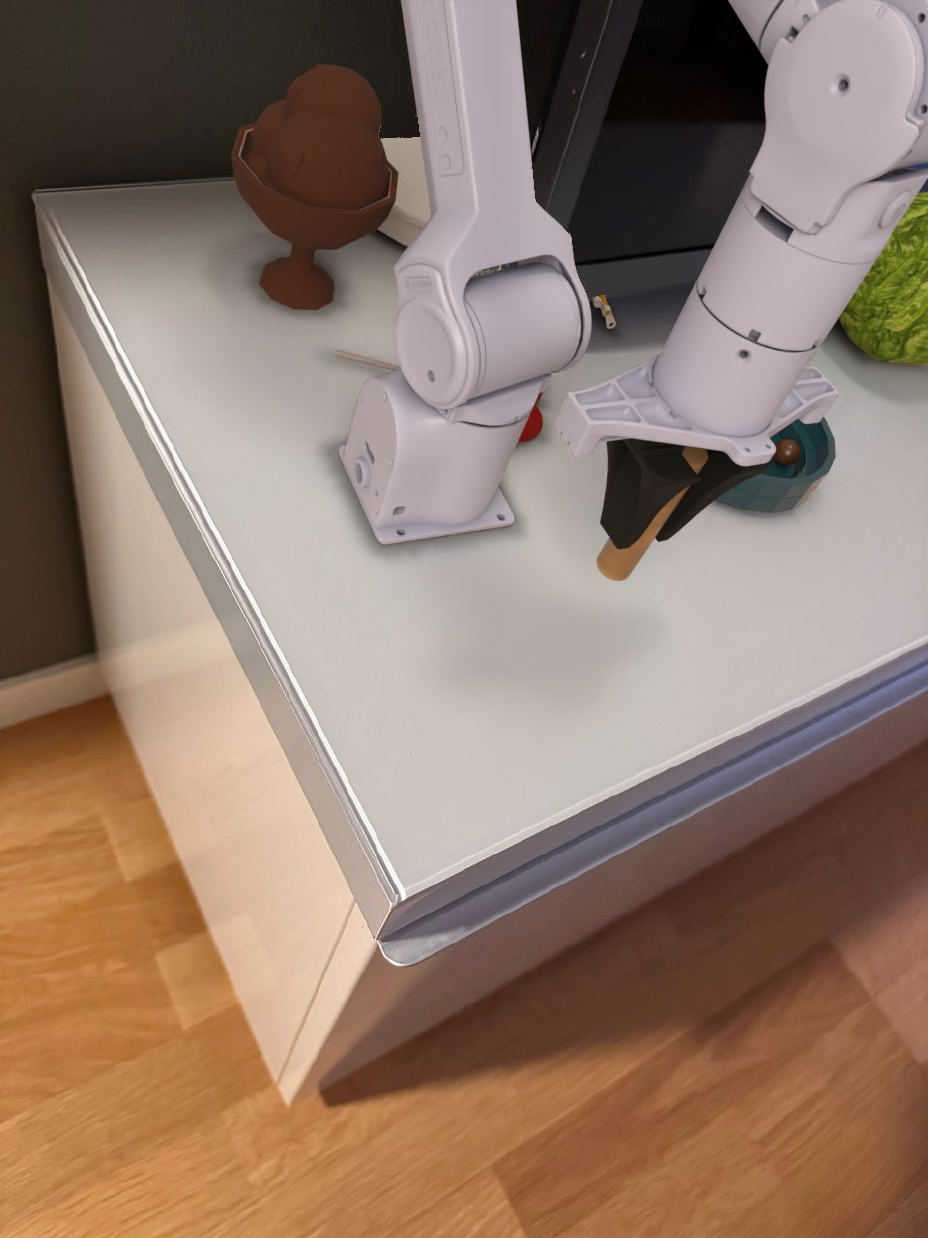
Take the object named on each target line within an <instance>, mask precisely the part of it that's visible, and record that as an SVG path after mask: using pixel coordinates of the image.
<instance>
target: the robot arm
mask: <svg viewBox="0 0 928 1238" xmlns="http://www.w3.org/2000/svg"><path fill="white" fill-rule="evenodd" d="M727 1H728V2H729V5H730V6H731V8H732V9H733V10H734V12H735V14H736V16H737V18H738V19H739V21H740V22H741V23H742V25H743V27H744V29H745V30H746V32H747V33H748V35H749V36H750V38H751V40H752V42H753V43H754V45H755V46H756V48H757V49H758V51H759V53H760V54H761V56H762V58H763V59H764V60H765V62H766V64H767V66H768V67H767V70H766V76H765V83H764V101H763V102H764V112H765V113H764V114H765V131H764V136H763V140H762V143H761V146H760V148H759V151H758V153H756V157H754V160H753V163H752V165H751V166H750V169H749V175H748V177H747V179H746V181H745V183H744V185H743V187H742V189H741V191H740V193H739V195H738V197H737V199H736V201H735V204H734V205H733V208H732V209H731V212H730V213H729V215H728V218H727V220H726V222H725V223H724V225H723V228H722V229H721V231H720V233H719V235H718V238H716V241H715V244H714V246H713V247H712V249H711V251H710V254H709V256H708V258H707V260H706V262H705V264H704V266H703V267H702V269H701V272H700V274H699V276H698V277H697V279H696V281H695V283H694V285H693V287H692V290H691V291H690V292H689V295H688V296H687V299H686V301H685V303H684V306H683V307H682V308H681V311H680V313H679V315H678V317H677V319H676V321H675V323H674V325H673V327H672V329H671V331H670V333H669V335H668V337H667V339H666V341H665V343H664V345H663V347H662V349H661V351H660V353H659V354H657V355H654V356H653V357H651V358H649V359H647V360H645V361H643V362H641V363H639V364H637V365H635V366H633V367H631V368H629V369H626V370H625V371H623V372H620V374H617V375H615V376H613V377H611V378H609V379H608V380H606V381H603V382H602V383H599V384H597V385H594V386H592V387H589V388H585V389H581V390H580V389H579V390H575V391H568V392H567V393H566V396H565V398H564V401H563V403H562V405H561V407H560V410H559V412H558V415H557V417H556V420H555V421H554V424H553V428H554V429H555V430H556V432H557V433H558V435H559V437H560V439H561V441H562V442H563V443H564V445H565V446H566V448H568V450H569V451H570V453H571V454H572V456H573V458H578V457H579V458H581V457H586V456H591V455H593V454H594V453H595V450H596V448H597V446H598V444H599V443H606V451H607V453H606V454H607V474H606V484H605V492H604V500H603V505H602V509H601V515H600V520H599V524H600V525H601V527H602V529H603V530H604V532H605V533H606V534H607V536H608V539H609V538H610V539H611V541H612V542H613V544H614V545H615V547H616V548H617V549H619V550H621V549H626V548H629V547H631V546H632V545H633V544H634V543H635V542H636V541H637V540H638V539H639V538H640V537H641V536H642V535H643V533H644V532H645V531H646V529H647V528H648V526H649V525H650V524H651V522H652V521H653V519H654V518H655V517H656V515H657V514H658V513H659V511H660V510H661V509H662V508H663V507H664V506H665V505H666V504H667V503H668V502H669V501H670V500H671V499H673V498H674V497H675V496H676V495H677V494H679V493H680V492H681V491H683V490H684V489H686V488H687V487H689V486H690V487H689V489H688V490H687V491H686V493H685V494H684V496H683V497H682V499H681V500H680V502H679V503H678V505H677V506H676V508H675V509H674V511H673V512H672V514H671V515H670V517H669V518H668V520H667V521H666V523H665V524H664V526H663V527H662V528H661V530H660V531H659V533H658V534H657V536H656V537H655V540H656V541H657V542H658V543H661V542H665V541H669V540H670V539H671V538H672V537H674V536H676V534H678V532H679V531H681V530H682V529H684V527H685V526H687V524H689V523H690V522H691V521H692V520H694V518H695V517H697V516H698V515H699V514H700V513H701V512H702V511H703V510H705V509H706V508H707V507H708V506H709V505H711V504H712V503H713V502H714V501H716V500H718V499H717V498H718V497H720V496H721V495H722V494H724V493H725V492H727V491H729V490H730V489H732V488H733V487H735V486H737V485H738V484H740V483H742V482H744V481H746V480H748V479H750V478H752V477H754V476H756V475H758V474H761V473H763V472H765V471H767V470H768V469H769V468H770V466H771V465H772V463H773V462H774V460H775V458H776V453H775V452H776V447H775V445H774V443H773V442H772V441H771V440H770V437H771V436H773V435H774V434H776V433H777V432H779V431H780V430H782V429H783V428H785V427H786V426H788V425H789V424H791V423H792V422H794V421H795V420H797V419H799V420H800V421H801V422H802V423H804V424H812V423H819V422H820V420H821V419H822V418H823V416H824V417H825V415H826V414H827V412H828V410H829V409H830V407H832V405H833V403H834V402H835V401H836V399H837V398H838V397H839V395H840V391H839V390H838V389H837V387H836V386H835V385H834V384H833V383H832V382H831V381H830V380H829V378H828V377H827V375H825V374H824V373H823V372H822V371H821V369H819V368H818V367H817V366H816V365H810V366H809V364H810V362H811V361H812V359H813V358H814V357H815V354H816V353H817V352H818V351H819V348H820V347H821V345H822V344H823V342H824V341H825V339H826V338H827V337H828V335H829V333H830V332H831V331H832V329H833V327H834V326H835V324H836V323H837V321H838V320H839V316H840V315H841V313H842V312H843V310H844V309H845V307H846V306H847V304H848V303H849V301H850V300H851V298H852V296H853V295H854V293H855V292H856V290H857V289H858V287H859V286H860V284H861V283H862V281H863V280H864V278H865V276H866V275H867V273H868V272H869V270H870V269H871V267H872V266H873V264H874V263H875V261H876V260H877V258H878V256H879V255H880V253H881V252H882V250H883V249H884V247H885V246H886V244H887V243H888V241H889V239H890V237H891V235H892V232H893V231H894V229H895V228H896V226H897V225H898V223H899V222H900V220H901V218H902V217H903V215H904V214H905V212H906V211H907V209H908V208H909V206H910V205H911V203H912V201H913V200H914V198H915V197H916V195H917V194H918V193H920V191H921V190H922V188H923V186H924V185H925V183H926V181H927V180H928V168H926V167H922V168H914V167H915V166H919V165H923V164H928V0H727ZM400 3H401V11H402V17H403V18H402V19H403V24H404V31H405V38H406V39H405V40H406V47H407V53H408V61H409V67H410V74H411V83H412V88H413V95H414V102H415V110H416V116H417V117H418V124H419V132H420V139H421V146H422V153H423V160H424V167H425V174H426V181H427V188H428V195H429V202H430V209H431V216H430V219H429V220H428V222H427V224H426V225H425V226H424V227H423V229H422V230H421V231H420V233H419V234H418V235H417V236H416V238H415V239H414V240H413V241H412V243H411V244H410V245H409V246H408V247H407V246H406V248H405V250H404V251H403V252H402V253H401V255H400V256H399V258H398V259H397V260H396V262H395V263H394V267H393V270H394V276H395V282H396V289H397V290H396V291H397V308H396V309H397V310H396V317H395V322H394V323H395V324H394V337H393V338H394V348H395V355H396V358H397V361H398V364H399V367H401V368H399V369H398V370H395V371H394V370H391V371H389V372H387V373H382V374H379V375H375V376H371V377H369V378H367V379H366V380H365V381H364V382H363V383H362V385H361V386H360V390H359V392H358V396H357V399H356V404H355V408H354V410H353V411H354V412H353V415H352V419H351V424H350V427H349V432H348V436H347V439H346V444H341V445H340V446H339V449H338V451H337V453H338V456H339V459H340V461H341V463H342V465H343V468H344V469H345V472H346V474H347V476H348V478H349V481H350V483H351V485H352V488H353V490H354V491H355V494H356V496H357V499H358V501H359V503H360V506H361V507H362V509H363V512H364V514H365V516H366V518H367V520H368V522H369V525H370V528H371V529H372V532H373V533H374V536H375V539H376V540H377V541H378V542H379V543H380V544H382V545H391V544H399V543H403V542H412V541H418V540H424V539H430V538H432V539H433V538H437V537H444V536H450V535H451V536H452V535H456V534H457V535H458V534H463V533H470V532H476V531H483V530H490V529H496V528H503V527H509V526H512V525H513V524H514V522H515V520H516V516H515V514H514V512H513V511H512V509H511V507H510V505H509V503H508V501H507V500H506V497H505V496H504V494H503V492H502V489H501V488H500V487H499V485H500V483H501V481H502V479H503V476H504V474H505V472H506V470H507V467H508V465H509V462H510V460H511V458H512V456H513V454H514V451H515V449H516V447H517V445H518V443H519V442H518V440H519V438H520V436H521V433H522V431H523V429H524V427H525V424H526V422H527V420H528V418H529V415H530V413H531V411H532V408H533V406H534V404H535V405H536V403H535V402H536V400H537V397H538V394H539V393H541V392H543V393H544V392H545V391H546V389H547V386H548V384H549V382H550V380H551V377H552V375H553V374H558V373H563V372H565V371H569V370H570V369H571V368H573V367H575V366H576V365H577V364H578V363H579V362H580V361H581V359H582V358H583V357H584V355H585V354H586V351H587V349H588V346H589V344H590V340H591V335H592V325H593V320H592V311H591V305H590V301H588V300H589V298H588V295H587V292H585V291H586V288H585V289H584V287H583V285H582V283H581V281H580V279H579V276H578V273H577V270H576V265H575V259H574V252H573V245H572V237H571V233H570V232H569V233H568V232H567V231H566V230H565V229H564V228H563V225H561V223H560V222H559V221H557V220H556V219H555V218H554V217H553V216H552V215H550V213H548V211H545V210H544V209H543V208H542V207H541V206H540V205H539V204H538V203H537V202H536V199H535V190H534V179H533V169H532V165H533V161H532V149H531V139H530V129H529V119H528V109H527V99H526V90H525V89H526V87H525V78H524V68H523V58H522V57H523V56H522V49H521V48H522V47H521V37H520V28H519V27H520V26H519V17H518V7H517V0H400ZM912 167H913V168H912ZM503 265H506V266H507V268H503V269H499V270H496V271H495V270H493V271H491V272H486V273H483V274H478V275H475V274H477V273H478V272H480V271H483V270H485V269H491V268H494V267H498V266H503ZM685 446H690V447H697V448H704V449H706V451H707V453H708V460H707V462H706V463H705V465H704V466H703V468H702V469H701V471H700V472H699V474H698V475H697V474H696V472H695V471H694V470H693V468H692V467H691V466H690V464H689V463H688V462H687V460H686V459H685V458H684V456H683V455H682V452H683V450H684V449H685Z"/></svg>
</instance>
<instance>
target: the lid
mask: <svg viewBox="0 0 928 1238" xmlns="http://www.w3.org/2000/svg"><path fill="white" fill-rule="evenodd" d="M381 141H382V144H383V147H384V150H385V153H386V157H387V160H388V161H389V162H390V163H391V165H392V166H393V167H394V168H395V169H396V170H397V171H398V172H399V173H398V183H397V194H396V201H395V203H394V205H393V207H392V209H391V211H390V213H389V215H388V217H387V219H386V220H385V221H384V222H383V223H382V224H381V226H380V227H379V228H378V229H377V230H376V231H379V232H381V233H382V234H384V235H386V236H387V237H389V238H391V239H392V240H394V241H396V242H397V243H399V244H401V245H402V246H405V247H406V248H407V247H408V246H409V245H410V244H411V243H412V241H413V240H414V239H415V238H416V236H417V235H418V234H419V233H420V231H421V230H422V229H423V227H424V226H425V225H426V224H427V222H428V220H429V219H430V216H431V209H430V202H429V195H428V188H427V181H426V174H425V167H424V160H423V153H422V146H421V139H420V137H412V138H403V137H402V138H400V137H399V138H398V137H397V138H383V139H382V138H381Z"/></svg>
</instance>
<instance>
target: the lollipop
mask: <svg viewBox="0 0 928 1238" xmlns="http://www.w3.org/2000/svg"><path fill="white" fill-rule="evenodd" d="M335 356H336V357H341V358H344V359H348V360H352V361H356V362H361V363H364V364H368V365H372V366H374V367H379V368H383V369H386V370H391V371H395V370H398V369H399V368H401V367H400V365H399V366H398V365H395V364H391V363H388V362H384V361H380V360H377V359H373V358H368V357H365V356H360V355H357V354H354V353H350V352H347V351H343V350H342V351H341V350H339V349H336V350H335ZM543 394H544V391H543V392H541V393H539V394H538V397H537V400H536V402H535V404H534V406H533V408H532V411H531V413H530V415H529V418H528V420H527V422H526V424H525V427H524V429H523V431H522V433H521V436H520V438H519V440H518V442H517V443H523V442H524V443H525V442H528V441H532V440H533V439H535V438H536V437H537V436H538V435H539V434H540V433H541V432H542V430H543V427H544V419H543V414H542V412H541V410H540V408H539V407H538V406H537V405H536V404H537V403H538V402H539V401H540V400H541V398H542V396H543Z"/></svg>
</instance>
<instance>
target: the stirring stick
mask: <svg viewBox="0 0 928 1238" xmlns="http://www.w3.org/2000/svg"><path fill="white" fill-rule="evenodd" d="M682 455H683V456H684V458H685V459H686V460H687V462H688V463H689V464H690V466H691V467H692V468H693V470H694V471H695V472H696V474H697V475H698V474H699V472H700V471H701V469H702V468H703V466H704V465H705V463H706V462H707V460H708V453H707V451H706V449H704V448H697V447H690V446H685V449H684V450H683V452H682ZM689 487H690V486H689ZM689 487H687V488H686V489H684V490H683V491H681V492H680V493H679V494H677V495H676V496H675V497H674V498H673V499H671V500H670V501H669V502H668V503H667V504H666V505H665V506H664V507H663V508H662V509H661V510H660V511H659V513H658V514H657V515H656V517H655V518H654V519H653V521H652V522H651V524H650V525H649V526H648V528H647V529H646V531H645V532H644V533H643V535H642V536H641V537H640V538H639V539H638V540H637V541H636V542H635V543H634V544H633V545H632V546H631V547H629V548H626V549H621V550H619V549H617V548H616V547H615V545H614V544H613V542H612V541H611V539H610V538H609V537H608V539H607V541H606V542H605V544H604V546H603V547H602V549H601V550H600V552H599V554H598V555H597V556H596V561H595V562H596V567H597V569H598V571H599V572H600V573H601V575H603V576H604V577H605V578H607V579H608V580H611V581H615V582H622V581H625V580H628V578H629V577H630V576H631V575H632V573H633V572H634V570H635V568H636V567H637V566H638V564H639V563H640V561H641V559H642V558H643V557H644V555H645V554H646V552H647V551H648V549H649V548H650V546H651V545H652V543H653V542H654V540H656V538H655V537H656V536H657V534H658V533H659V531H660V530H661V528H662V527H663V526H664V524H665V523H666V521H667V520H668V518H669V517H670V515H671V514H672V512H673V511H674V509H675V508H676V506H677V505H678V503H679V502H680V500H681V499H682V497H683V496H684V494H685V493H686V491H687V490H688V489H689Z"/></svg>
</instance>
